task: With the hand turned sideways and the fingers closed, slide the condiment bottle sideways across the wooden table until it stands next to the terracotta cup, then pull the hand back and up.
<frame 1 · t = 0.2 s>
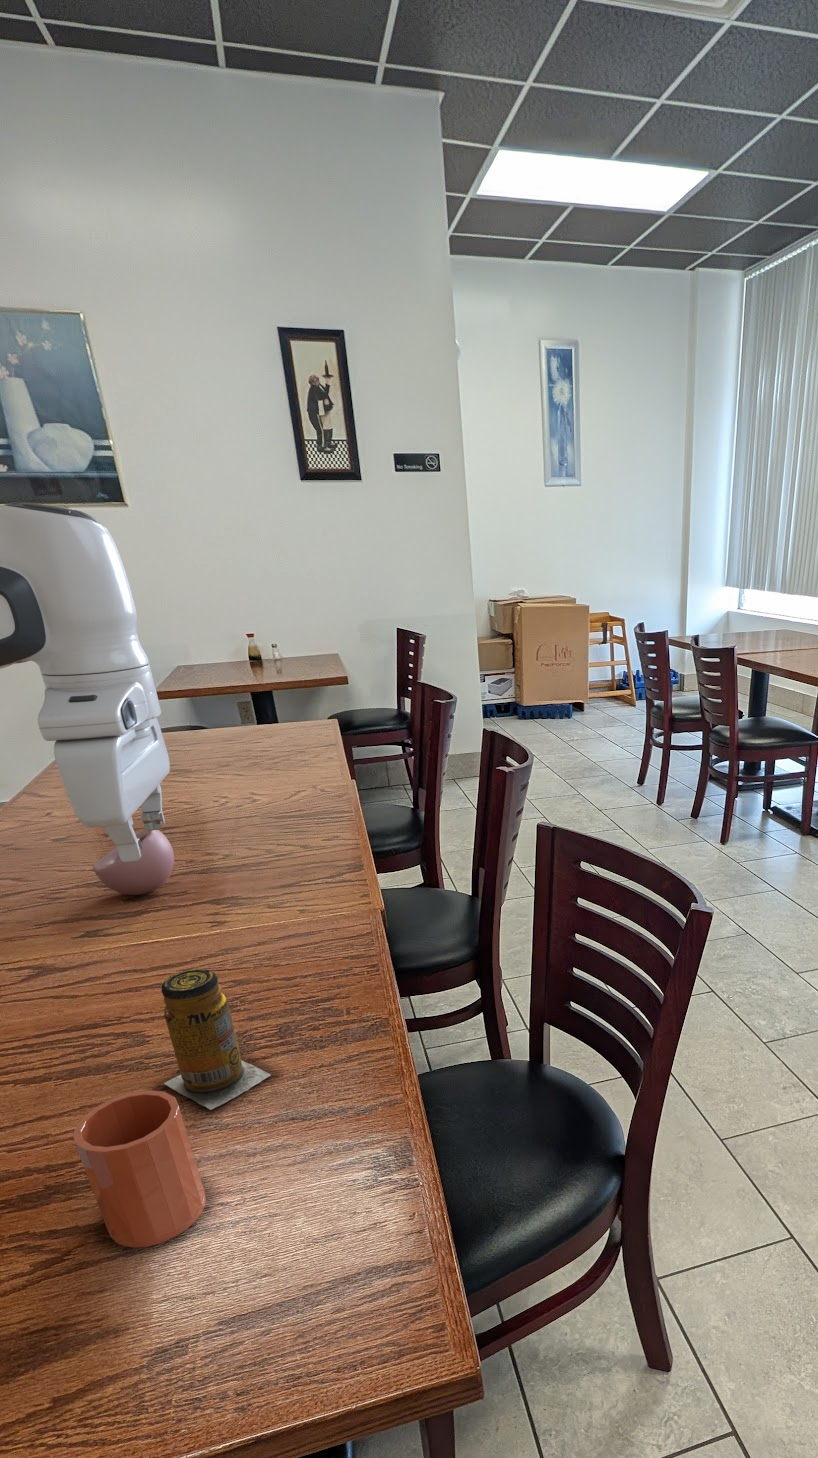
hand: (144, 843, 82), 25 cm above the table, tool pointing down, fingers open, 8 cm apart
mortar and pestle: (143, 893, 136), on the table
terracotta cup: (158, 1213, 70), on the table
condiment: (218, 1082, 87), on the table
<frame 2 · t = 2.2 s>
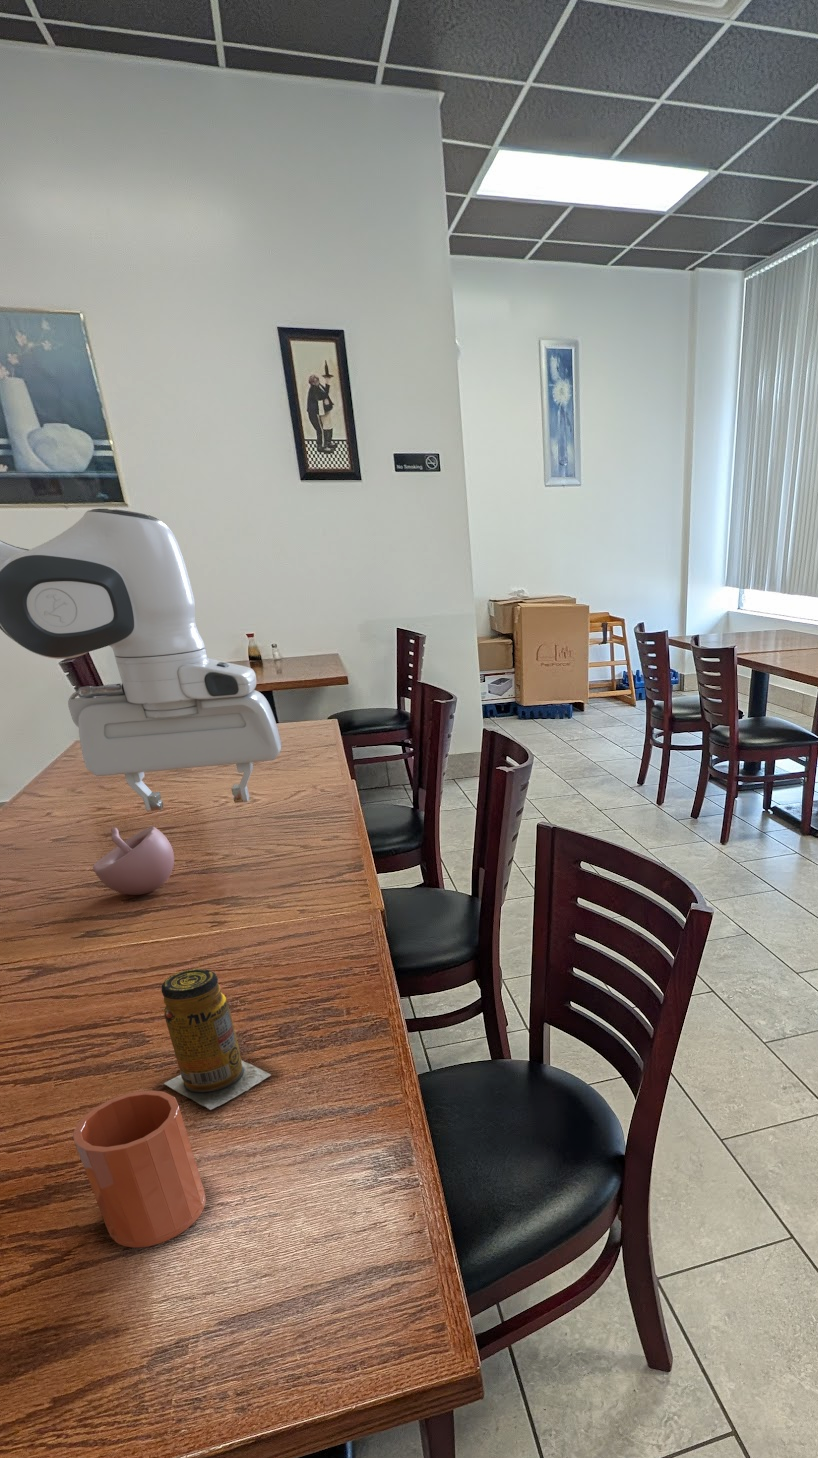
hand: (199, 805, 93), 25 cm above the table, tool pointing down, fingers open, 8 cm apart
nothing on the table moved.
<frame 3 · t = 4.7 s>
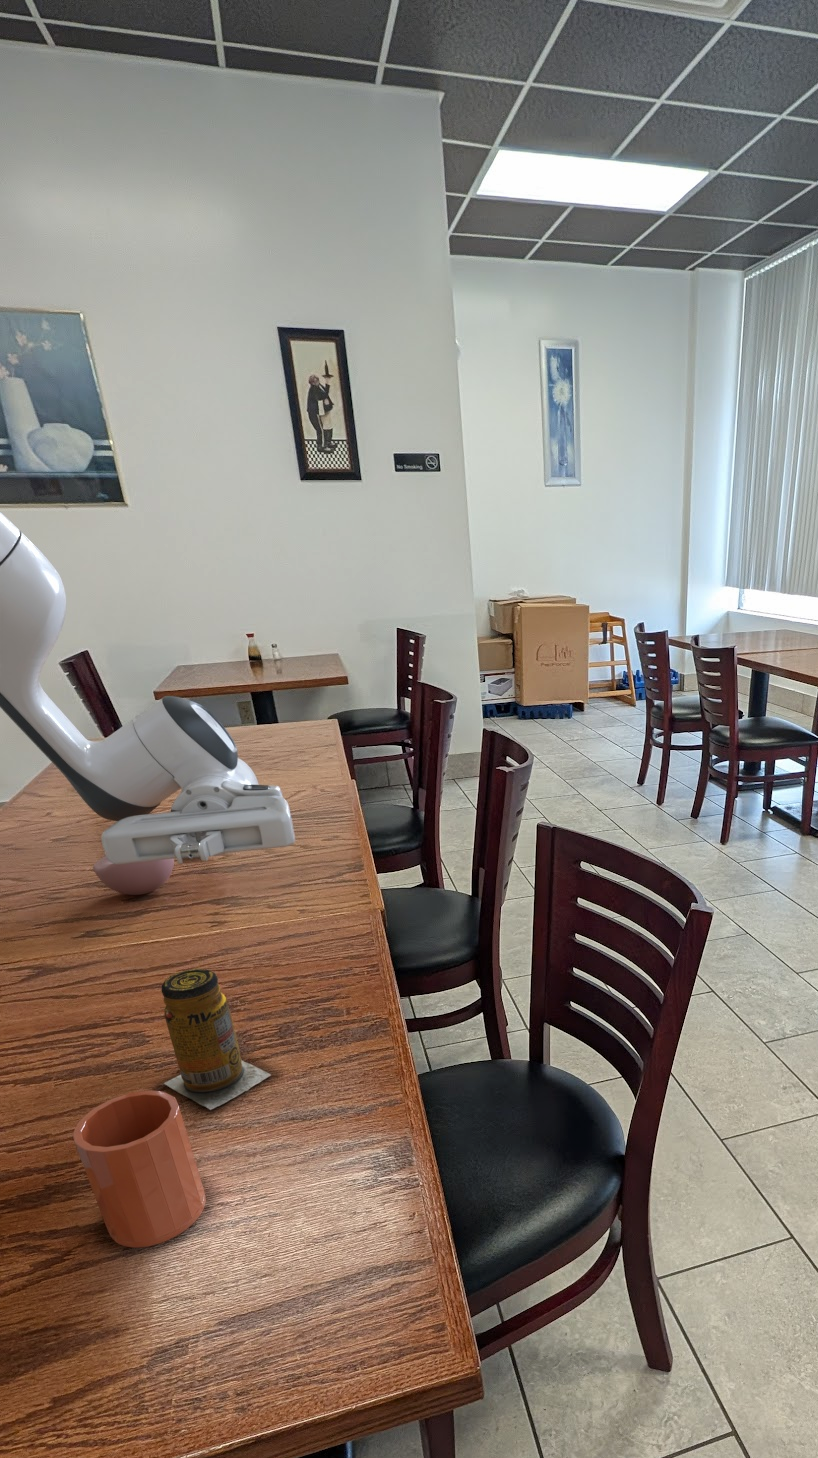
hand: (190, 855, 87), 21 cm above the table, tool horizontal, fingers closed
nothing on the table moved.
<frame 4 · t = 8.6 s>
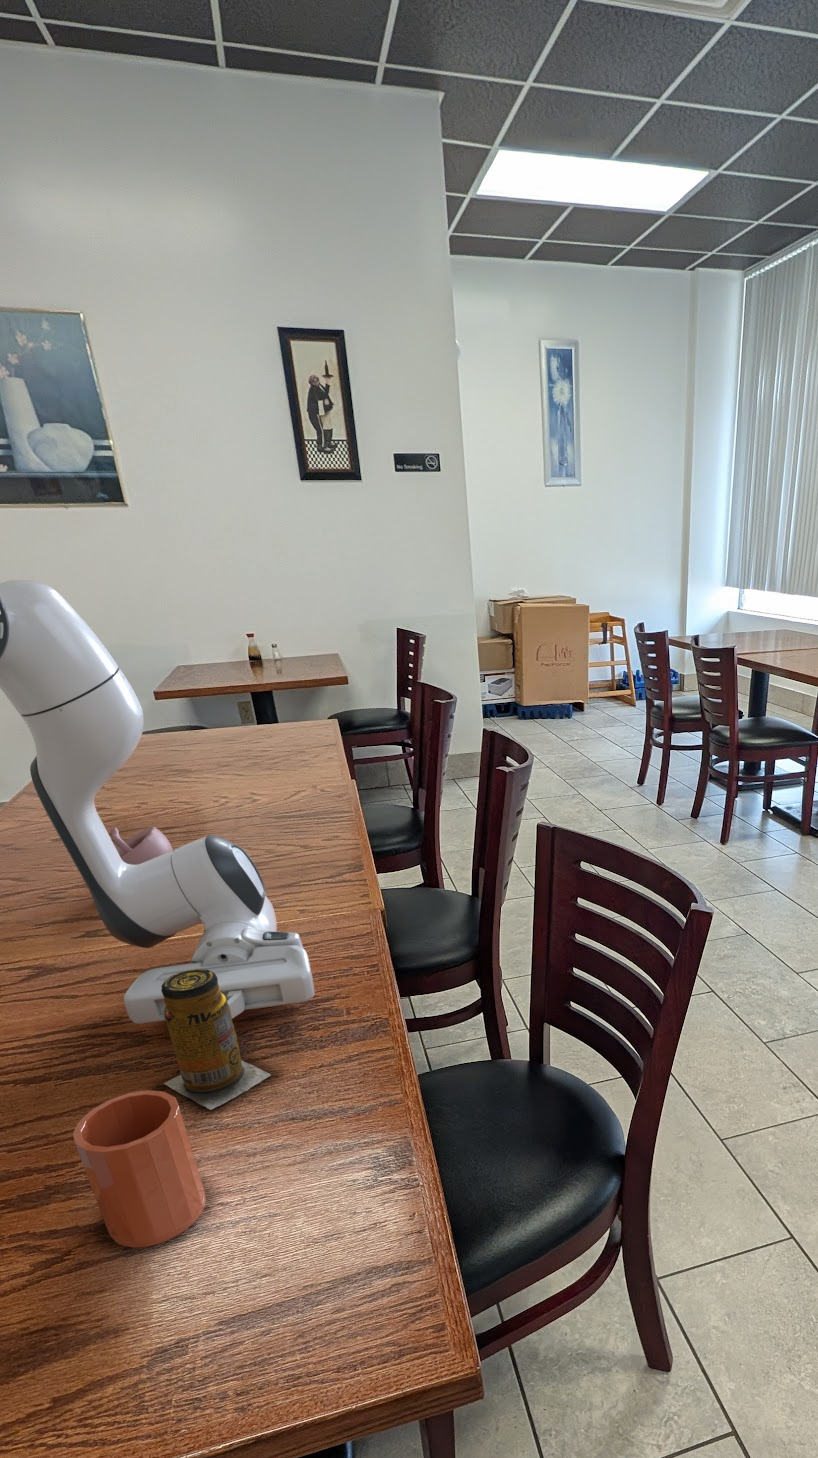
hand: (212, 1022, 88), 5 cm above the table, tool horizontal, fingers closed
condiment: (218, 1082, 87), on the table, touching gripper
everything else where it was.
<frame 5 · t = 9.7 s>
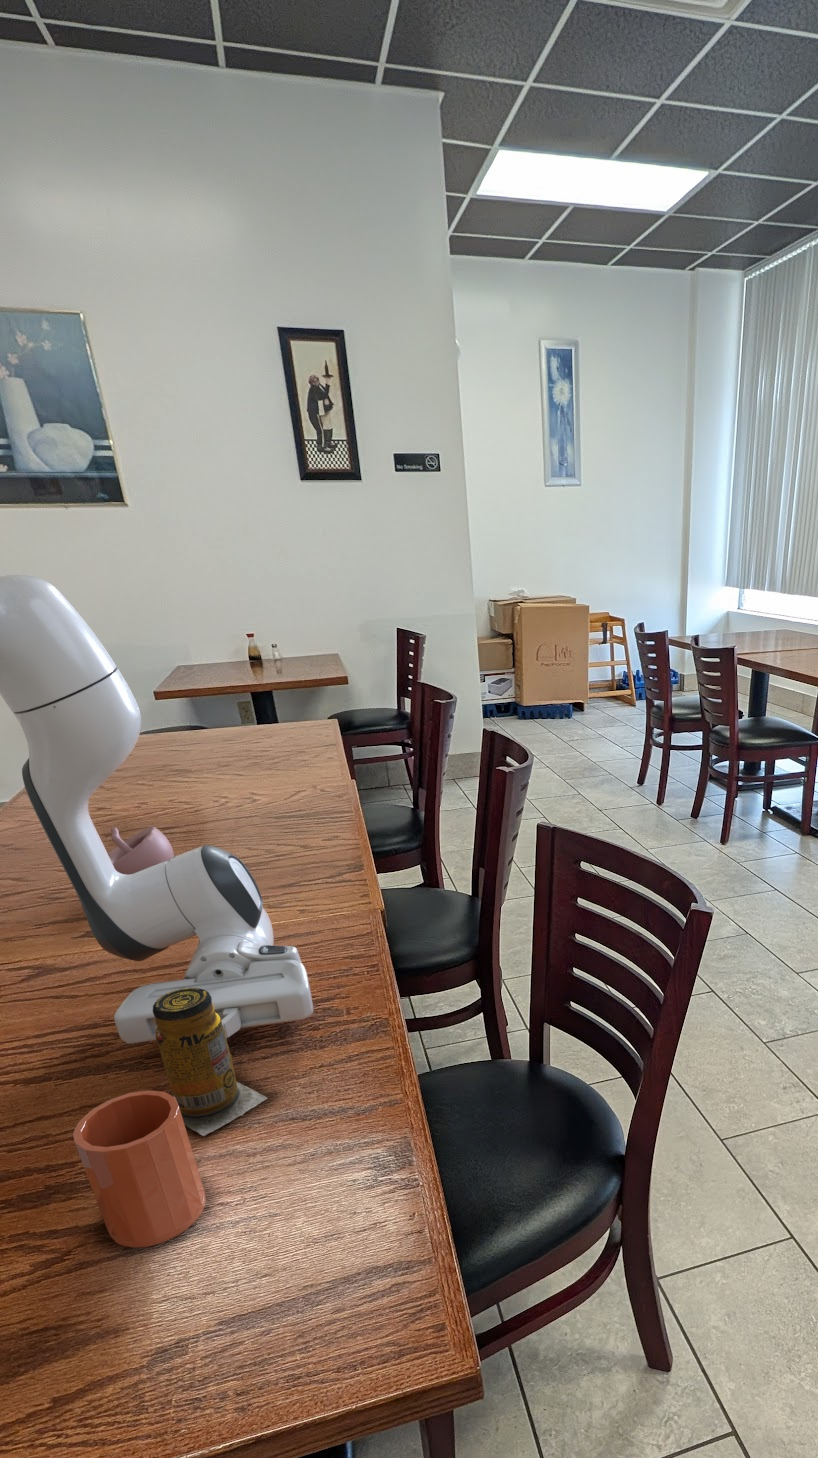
hand: (207, 1042, 84), 5 cm above the table, tool horizontal, fingers closed
condiment: (212, 1105, 83), on the table, touching gripper
everything else where it was.
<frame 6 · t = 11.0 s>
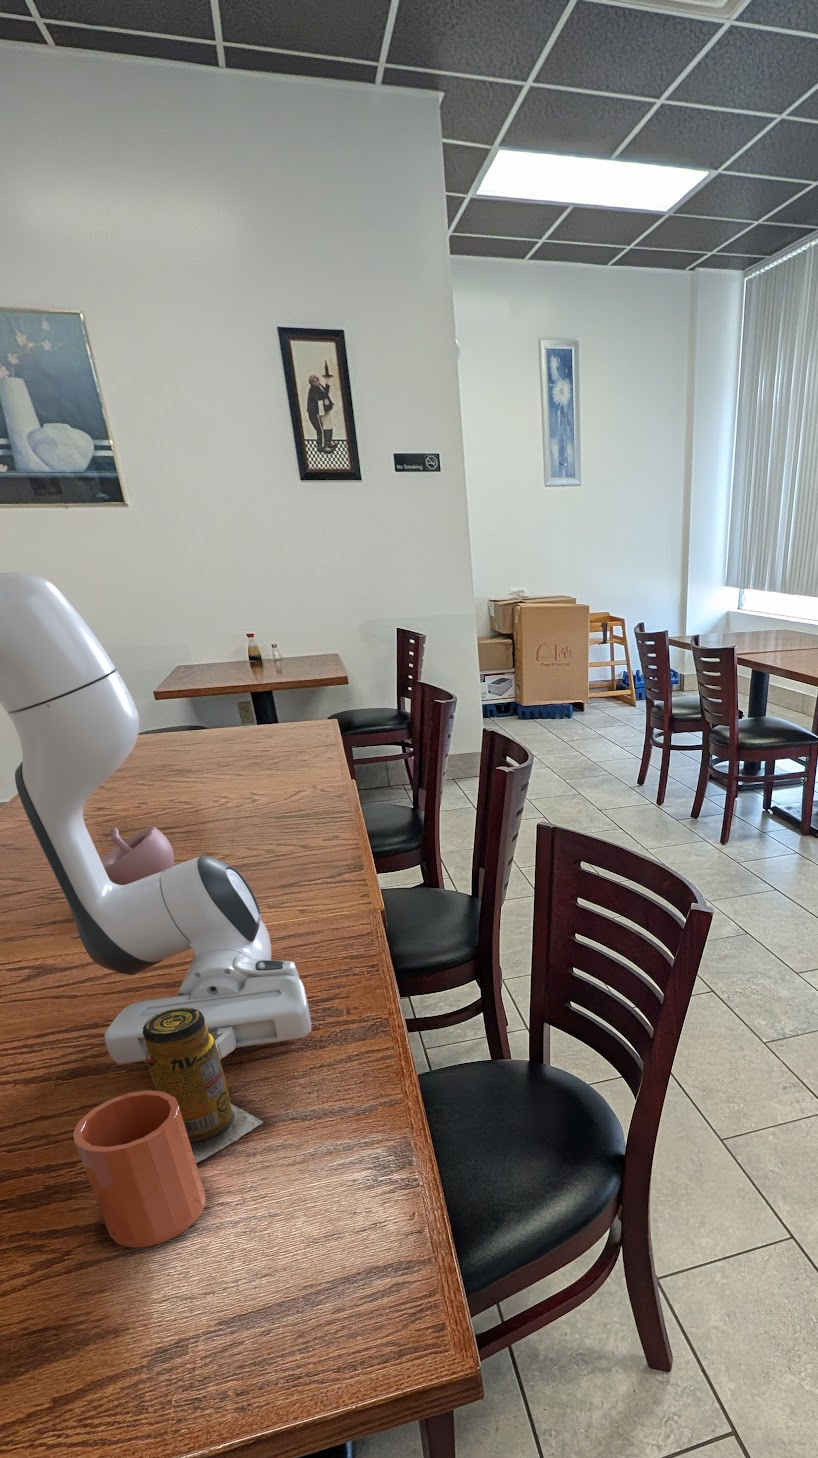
hand: (200, 1063, 81), 5 cm above the table, tool horizontal, fingers closed
condiment: (206, 1129, 80), on the table, touching gripper
everything else where it was.
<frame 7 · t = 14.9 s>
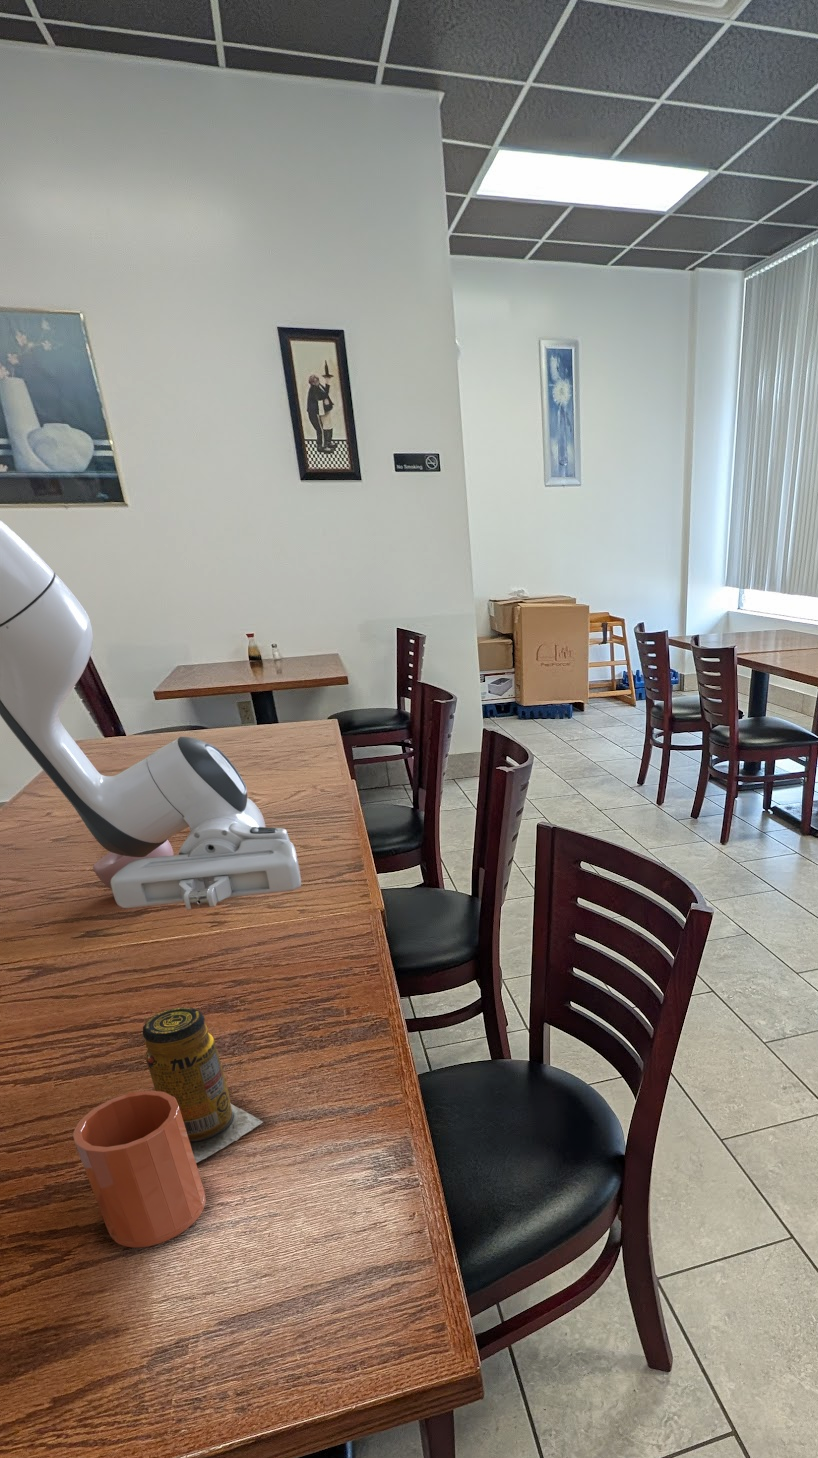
hand: (198, 902, 89), 16 cm above the table, tool horizontal, fingers closed
condiment: (206, 1129, 80), on the table
everything else where it was.
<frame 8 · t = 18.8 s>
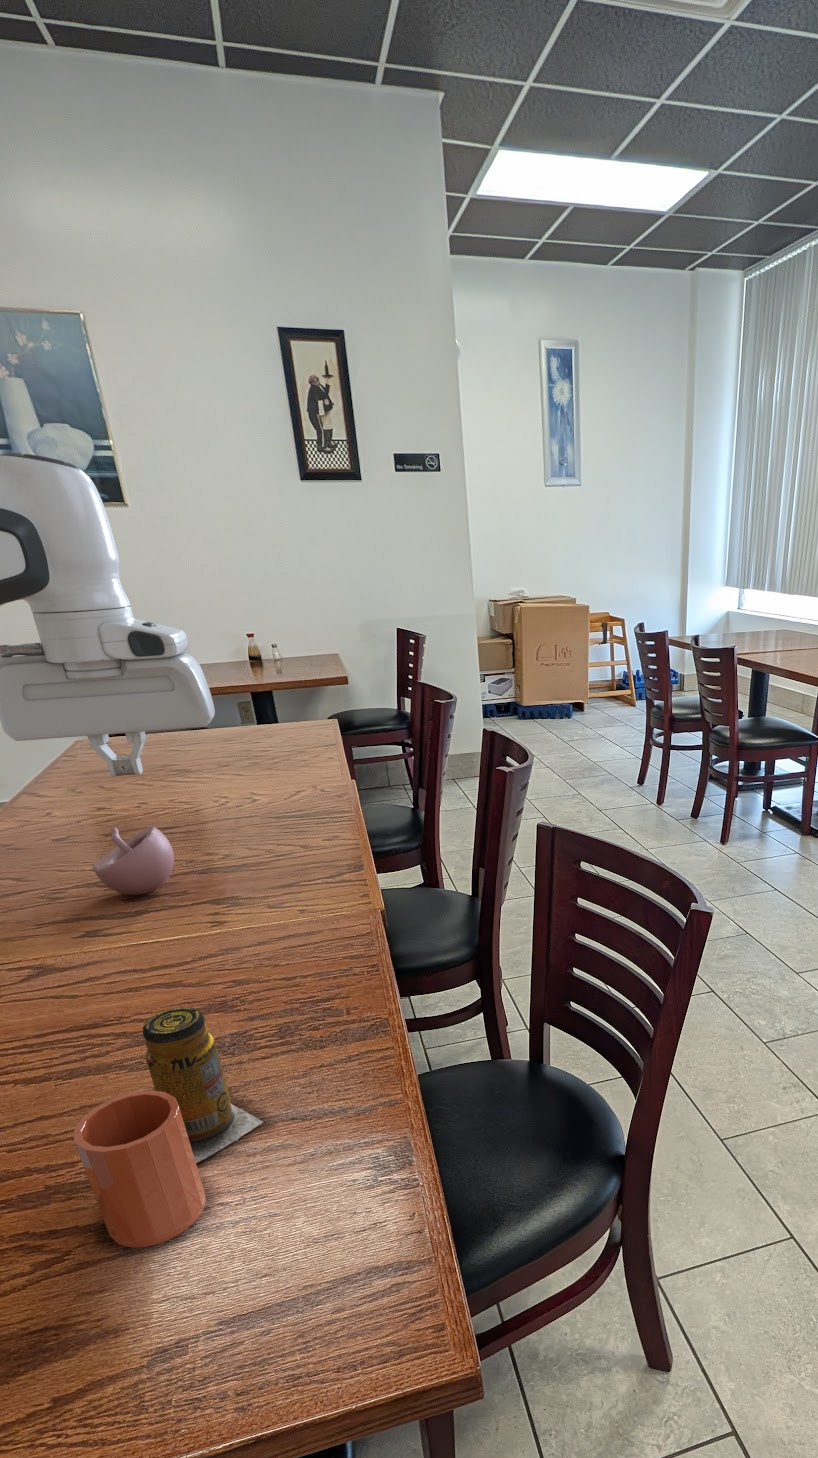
hand: (127, 774, 89), 29 cm above the table, tool pointing down, fingers closed
nothing on the table moved.
at the end: condiment 0.0 cm from the target spot, on the table; condiment 11.2 cm from the terracotta cup (horizontally); condiment tilted 0° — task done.
